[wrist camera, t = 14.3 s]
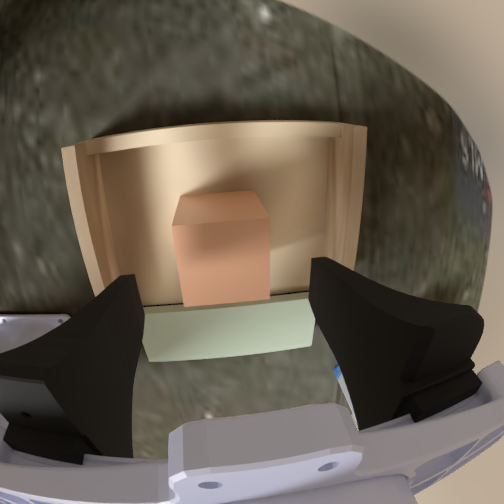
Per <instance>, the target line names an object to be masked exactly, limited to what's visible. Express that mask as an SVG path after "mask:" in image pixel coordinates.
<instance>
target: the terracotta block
mask: <svg viewBox="0 0 504 504" xmlns="http://www.w3.org/2000/svg"><path fill="white" fill-rule="evenodd" d="M172 233H173V240H174V247H175V254H176V261H177V267H178V273H179V279H180V285H181V291H182V297H183V303H184V307H190V306H202V305H214V304H225V303H236V302H246V301H256V300H265V299H270V217H269V215H268V214H267V212H266V210H265V208H264V207H263V205H262V203H261V201H260V200H259V198H258V196H257V195H256V193H255V191H254V190H251V191H235V192H221V193H209V194H197V195H186V196H180V198H179V201H178V205H177V208H176V212H175V215H174V219H173V223H172Z"/></svg>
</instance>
